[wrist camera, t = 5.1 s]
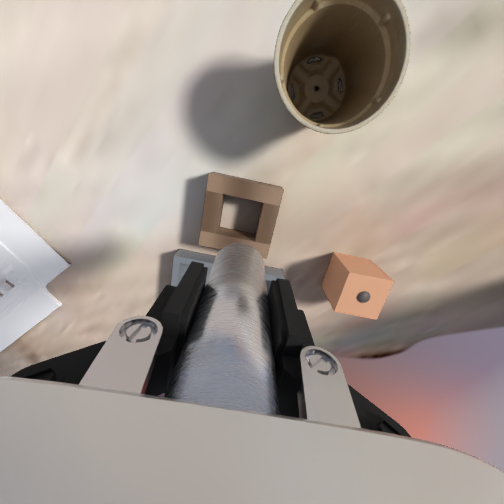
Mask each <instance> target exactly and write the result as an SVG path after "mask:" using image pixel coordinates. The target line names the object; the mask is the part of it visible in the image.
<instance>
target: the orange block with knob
mask: <svg viewBox="0 0 504 504" xmlns="http://www.w3.org/2000/svg"><path fill="white" fill-rule="evenodd" d="M393 284H394V280H392V279H391V278H390V277H389V276H388V275H387V274H386V273H385V272H384V271H382V270H381V269H380V268H379V267H378V266H377V265H376V264H375V263H373V262H372V261H371V260H369V259H364V258H359V257H354V256H350V255H345V254H340V253H335V252H333V254H332V257H331V260H330V263H329V266H328V269H327V271H326V274H325V277H324V280H323V283H322V288H323V290H324V292H325V294H326V296H327V298H328V300H329V302H330V304H331V306H332V308H333V310H334V312H339V313H344V314H349V315H354V316H359V317H365V318H370V319H375V320H377V318H378V316H379V314H380V311H381V309H382V307H383V305H384V303H385V301H386V299H387V296H388V294H389V292H390V290H391V288H392V286H393Z"/></svg>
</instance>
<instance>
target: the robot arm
mask: <svg viewBox="0 0 504 504" xmlns="http://www.w3.org/2000/svg"><path fill="white" fill-rule="evenodd" d="M207 271H208V267H204V263H199V262H194V261H192V262H191V263H190V265H189V267H188V269H187V270H186V272H185V274H184V275H183V277H182V279H181V281H180V282H179V284H178V286H177V287H176V286H171V285H166V286H165V288H164V289H163V291H162V292H161V294H160V295H159V297H158V298H157V300H156V301H155V303H154V304H153V306H152V307H151V309H150V310H149V312H148V313H147V315H146V316H135V317H130V318H127V319H125V320H123V321H121V322H120V323H118V325H117V326H116V327H115V328H114V330H113V331H112V333H111V334H110V336H109V338H108V339H107V341H104V342H101V343H97V344H94V345H91V346H88V347H85V348H82V349H79V350H76V351H73V352H70V353H67V354H64V355H61V356H58V357H55V358H52V359H49V360H46V361H43V362H40V363H37V364H34V365H31V366H29V367H26V368H24V369H22V370H20V371H18V372H17V373H15V374H14V375H12V376H11V377H6V376H0V504H504V471H502V470H501V469H499V468H497V467H495V466H493V465H491V464H489V463H487V462H485V461H483V460H481V459H478V458H477V457H475V456H472V455H469V454H467V453H465V452H462V451H459V450H457V449H454V448H451V447H448V446H445V445H441V444H438V443H434V442H430V441H426V440H421V439H416V438H411V436H410V435H409V434H408V433H407V432H406V430H405V429H404V428H403V427H402V426H400V425H399V424H398V423H397V422H396V421H394V420H393V419H392V418H391V417H389V416H388V415H387V414H385V413H384V412H383V411H381V410H380V409H379V408H378V407H376V406H375V405H374V404H373V403H371V402H370V401H369V400H368V399H366V398H365V397H364V396H362V395H361V394H360V393H359V392H357V391H356V390H355V389H353V388H352V387H351V386H349V385H348V384H347V381H346V378H345V375H344V372H343V369H342V366H341V364H340V362H339V360H338V359H337V358H336V357H335V356H334V355H333V354H332V353H330V352H329V351H327V350H325V349H323V348H320V347H317V346H315V345H314V342H313V339H312V336H311V333H310V330H309V327H308V324H307V320H306V317H305V314H304V312H303V311H302V310H298V309H297V306H296V302H295V299H294V295H293V292H292V289H291V285H290V282H289V280H285V279H280V278H277V279H276V281H275V280H272V282H271V285H270V289H269V292H268V306H269V315H270V325H271V334H272V344H273V353H274V363H275V372H276V382H277V391H278V401H279V410H280V415H277V414H270V413H264V412H257V411H251V410H245V409H238V408H232V407H225V406H219V405H212V404H206V403H199V402H193V401H186V400H180V399H173V398H166V397H160V396H158V395H160V394H162V393H166V391H167V388H168V385H169V382H170V380H171V377H172V374H173V372H174V369H175V366H176V363H177V361H178V358H179V355H180V353H181V350H182V347H183V345H184V342H185V340H186V337H187V334H188V331H189V329H190V326H191V323H192V320H193V318H194V315H195V312H196V310H197V307H198V304H199V301H200V299H201V296H202V293H203V291H204V288H205V283H206V277H207Z"/></svg>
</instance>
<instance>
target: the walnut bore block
mask: <svg viewBox="0 0 504 504" xmlns="http://www.w3.org/2000/svg"><path fill="white" fill-rule="evenodd" d="M283 191H284V189H283V188H282V187H280V186H275V185H271V184H266V183H262V182H257V181H253V180H248V179H244V178H239V177H235V176H230V175H225V174H221V173H216V172H211V173H209V174H208V181H207V188H206V195H205V202H204V209H203V216H202V223H201V231H200V238H199V245H201V246H206V247H211V248H216V249H222V248H224V247H225V246H227V245H230V244H233V243H244V244H248V245H250V246H252V247H254V248H255V249H256V250H257V251H258V252H259V253H260V254H261V256H262V258H265V259H267V255H268V251H269V247H270V243H271V239H272V235H273V231H274V227H275V223H276V219H277V215H278V211H279V207H280V203H281V199H282V195H283ZM225 195H230V196H235V197H239V198H244V199H249V200H253V201H258V202H262V206H261V211H260V215H259V219H258V224H257V228H256V233H255V234H252V233H247V232H242V231H237V230H233V229H228V228H223V227H220V222H221V216H222V210H223V204H224V198H225Z"/></svg>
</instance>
